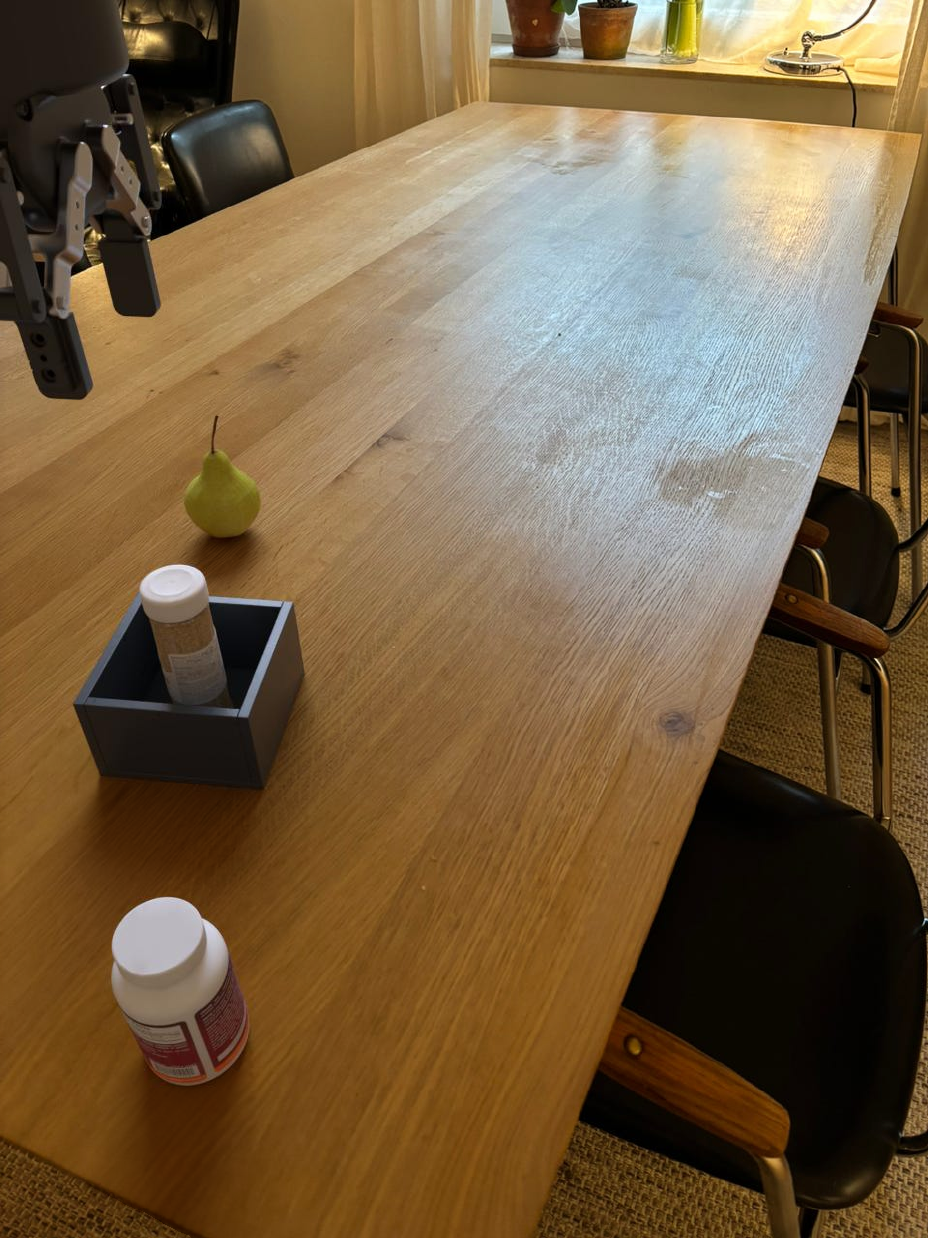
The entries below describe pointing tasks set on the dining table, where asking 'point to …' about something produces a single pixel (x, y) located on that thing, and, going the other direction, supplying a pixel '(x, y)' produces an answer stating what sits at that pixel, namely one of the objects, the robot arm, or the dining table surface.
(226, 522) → the fruit
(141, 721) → the dark grey open box
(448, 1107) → the dining table surface
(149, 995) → the pill bottle
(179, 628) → the sprinkles bottle
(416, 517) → the dining table surface
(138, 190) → the robot arm
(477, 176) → the dining table surface
